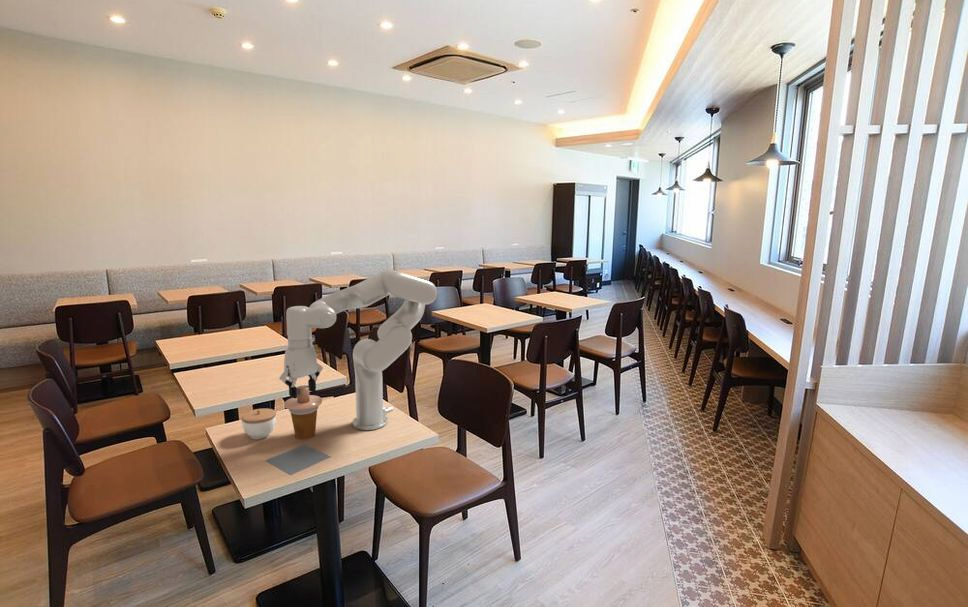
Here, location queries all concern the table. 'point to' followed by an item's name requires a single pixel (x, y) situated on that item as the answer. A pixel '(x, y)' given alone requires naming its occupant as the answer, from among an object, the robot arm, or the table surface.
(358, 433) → the table surface
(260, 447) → the table surface
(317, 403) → the lid
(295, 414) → the disposable coffee cup
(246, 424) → the lidded jar
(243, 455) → the table surface
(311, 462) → the mat
